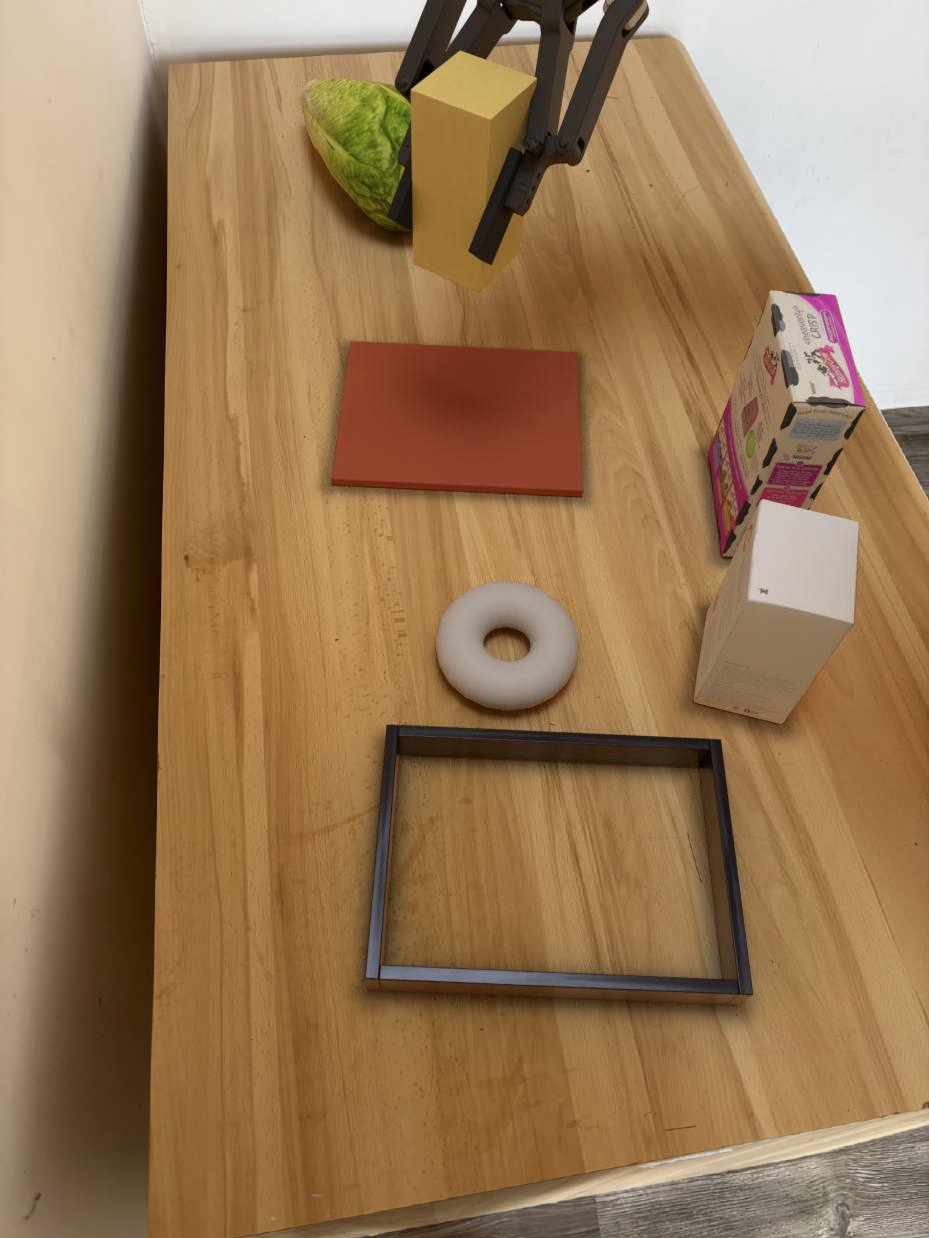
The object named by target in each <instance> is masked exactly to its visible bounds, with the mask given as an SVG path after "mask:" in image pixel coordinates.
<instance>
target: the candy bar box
mask: <svg viewBox="0 0 929 1238" xmlns="http://www.w3.org/2000/svg"><path fill="white" fill-rule="evenodd" d="M867 408H868V405H867V401H866V397H865V393H864V390H863V387H862V383H861V380H860V377H859V373H858V371H857V366H856V363H855V359H854V355H853V352H852V348H851V344H850V342H849V337H848V334H847V330H846V327H845V323H844V319H843V315H842V313H841V309H840V305H839V300H838V297H837V295H836V294H832V293H818V292H799V291H798V292H796V291H787V290H783V291H782V290H770V291H769V292H768V295H767V298H766V302H765V304H764V306H763V309H762V312H761V314H760V318H759V320H758V322H757V325H756V327H755V329H754V333H753V335H752V337H751V340H750V342H749V345H748V347H747V350H746V353H745V355H744V358H743V360H742V363H741V366H740V368H739V371H738V374H737V376H736V379H735V382H734V385H733V388H732V390H731V392H730V395H729V398H728V400H727V403H726V405H725V408H724V410H723V413H722V416H721V418H720V421H719V423H718V426H717V429H716V432H715V433H714V437H713V440H712V442H711V444H710V447H709V449H708V452H707V456H708V457H707V458H708V463H709V470H710V476H711V484H712V490H713V498H714V505H715V514H716V522H717V528H718V536H719V543H720V551H721V552H720V553H721V557H723V558H729V559H730V558H731V559H733V557H734V555H735V553H736V551H737V548H738V546H739V544H740V542H741V540H742V538H743V536H744V534H745V532H746V530H747V528H748V525H749V523H750V521H751V519H752V517H753V515H754V513H755V511H756V509H757V507H758V505H759V503H760V501H761V500H762V499H765V500H768V501H772V502H776V503H781V504H785V505H789V506H793V507H798V508H802V509H806V510H810V508H811V507H812V505H813V504H814V502H815V500H816V498H817V496H818V494H819V492H820V490H821V488H822V487H823V485H824V483H825V482H826V480H827V478H828V476H829V475H830V473H831V471H832V469H833V468H834V466H835V464H836V463H837V461H838V459H839V457H840V456H841V453H842V452H843V450H844V448H845V446H846V445H847V443H848V441H849V440H850V437H851V435H852V434H853V432H854V431H855V428H856V427H857V425H858V423H859V421H860V419H861V418H862V416H863V414H864V413H865V411H866V410H867Z"/></svg>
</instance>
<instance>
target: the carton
mask: <svg viewBox="0 0 929 1238" xmlns="http://www.w3.org/2000/svg"><path fill="white" fill-rule="evenodd" d="M536 85H537V78H535V76H532V75H530V74H527V73H525V72H522V71H518V70H516V69H514V68H510V67H507V66H505V65H501V64H499V63H497V62H493V61H491V60H487V59H486V60H485V59H482V58H479V57H477V56H474V55H471V54H468V53H466V52H463V51H459V52H458V53H456V54H455V55H454V56H452V57H451V58H450V59H449V60H447V61H446V62H445V63H444V64H442V65H441V66H440V67H439V68H437V69H436V70H435V71H434V72H432V73H431V74H430V75H428V76H427V77H426V78H425V79H423V80H422V81H421V82H420V83H418V84H417V85H416V86H415V87H413V88H412V89H411V142H412V213H413V232H412V264H413V265H415V266H416V267H419V268H421V269H424V270H425V271H428V272H430V273H432V274H434V275H437V276H439V277H442V278H443V279H446V280H449V281H451V282H453V283H456V284H457V285H460V286H463V287H465V288H467V289H470V290H472V291H474V292H476V293H478V294H481V293H483V291H484V290H485V289H486V288H487V287H488V286H489V285H490V284H491V283H492V282H493V281H494V280H495V278H497V276H498V275H499V274H500V273H501V272H502V271H503V270H504V269H506V267H507V266H508V265H509V264H510V263H511V262H512V261H513V260H514V259H515V258H516V257H517V256H518V255H519V253H521V248H522V240H523V239H522V238H523V228H524V227H523V226H524V220H525V219H524V217H525V215H524V216H523V217H522V216H520V215H517V214H515V213H513V215H512V218H511V220H510V223H509V225H508V227H507V230H506V232H505V235H504V237H503V240H502V242H501V244H500V247H499V249H498V252H497V254H496V257H495V259H494V261H493V264H492V265H490V264H487V263H485V262H482V261H481V260H479V259H478V258H477V257H475V256H474V255H472V254H471V253H470V252H468V250H469V247H470V245H471V242H472V240H473V237H474V235H475V232H476V230H477V227H478V225H479V222H480V220H481V218H482V215H483V213H484V210H485V208H486V206H487V204H488V201H489V199H490V196H491V194H492V191H493V189H494V186H495V184H496V181H497V179H498V176H499V174H500V172H501V169H502V167H503V164H504V162H505V159H506V157H507V154H508V152H509V149H510V147H512V148H514V149H517V150H519V151H521V152H522V153H523V154H524V151H525V149H524V148H523V146H522V144H521V139H523V140H524V141H525V137H526V130H527V124H528V117H529V110H530V104H531V98H532V95H533V93H534V90H535V88H536Z"/></svg>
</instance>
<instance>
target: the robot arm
mask: <svg viewBox="0 0 929 1238" xmlns="http://www.w3.org/2000/svg"><path fill="white" fill-rule="evenodd" d="M467 1H468V0H426V1H425V4H424V6H423V8H422V11H421V14H420V17H419V19H418V22H417V23H416V27H415V29H414V31H413V34H412V36H411V39H410V41H409V44H408V46H407V49H406V51H405V54H404V56H403V58H402V61H401V63H400V65H399V69H398V71H397V73H396V76H395V78H394V86H395V87H396V89H397V90H398V91H399V92H400V93H401V94H402V95H403V96H404V97H405V98H406V99H407V100H408V101H409V102H410V104H411V89H412V88H413V87H415V86H416V85H417V84H418V83H420V82H421V81H422V80H423V79H425V78H426V77H427V76H428V75H430V74H431V73H432V72H434V71H435V70H436V69H437V68H439V67H440V66H441V65H442V64H444V63H445V62H446V61H447V60H449V59H450V58H451V57H452V56H454V55H455V54H456V53H458V52H459V51H463V52H466V53H468V54H471V55H474V56H477V57H479V58H482V59H485V60H487V59H488V57H489V56H490V54H491V53H492V51H494V49H495V48H496V46H497V44H498V43H499V42H500V40H501V39H502V37H503V36H504V35H508V34H509V33H510V32H511V31H512V29H513V28H514V27H515V25H516V24H517V22H518V21H520V22H534V23H535V24H537V25H538V26H539V31H540V37H539V44H538V50H537V58H536V64H535V71H534V77H535V78H537V85H536V88H535V90H534V93H533V95H532V98H531V104H530V110H529V117H528V124H527V130H526V137H525V141H524V140H523V139H521V144H522V146H523V148H524V149H525V151H524V154H523V153H522V152H521V151H519V150H517V149H514V148H512V147H510V149H509V152H508V154H507V157H506V159H505V162H504V164H503V167H502V169H501V172H500V174H499V176H498V179H497V181H496V184H495V186H494V189H493V191H492V194H491V196H490V199H489V201H488V204H487V206H486V208H485V210H484V213H483V215H482V218H481V220H480V222H479V225H478V227H477V230H476V232H475V235H474V237H473V240H472V242H471V245H470V247H469V250H468V252H470V253H471V254H472V255H474V256H475V257H477V258H478V259H479V260H481V261H482V262H485V263H487V264H490V265H492V264H493V261H494V259H495V257H496V254H497V252H498V249H499V247H500V244H501V242H502V240H503V237H504V235H505V232H506V230H507V227H508V225H509V223H510V220H511V218H512V215H513V213H515V214H517V215H520V216H522V217H523V216H524V217H525V215H527V213H528V212H529V211H530V208H531V206H532V203H533V201H534V199H535V197H536V194H537V192H538V189H539V187H540V184H541V182H542V180H543V178H544V175H545V173H546V171H547V170H548V169H549V168H550V167H551V166H554V165H568V166H569V167H576V166H578V165H579V164H580V163H581V162H582V161H583V159H584V157H585V154H586V151H587V148H588V146H589V143H590V140H591V138H592V135H593V133H594V130H595V128H596V125H597V123H598V120H599V117H600V115H601V112H602V110H603V107H604V104H605V102H606V100H607V96H608V94H609V92H610V89H611V87H612V84H613V82H614V79H615V76H616V73H617V71H618V68H619V66H620V63H621V61H622V58H623V56H624V52H625V50H626V48H627V46H628V43H629V42H630V40H632V38H633V37H634V36H635V34H636V33H637V32H638V30H639V29H640V28H641V27H642V25H643V24H644V23H645V21H646V19H647V18H648V16H649V15H650V6H649V3H648V1H647V0H604V2H603V5H602V11H603V16H602V17H601V20H600V22H599V24H598V26H597V29H596V31H595V33H594V37H593V39H592V42H591V44H590V47H589V49H588V52H587V55H586V58H585V60H584V63H583V65H582V69H581V71H580V74H579V76H578V79H577V81H576V84H575V87H574V89H573V92H572V95H571V97H570V99H569V102H568V106H567V108H566V111H565V113H564V115H563V119H562V121H561V124H560V120H561V119H560V118H561V114H562V113H561V112H562V106H563V99H564V92H565V88H566V87H565V86H566V81H567V80H566V79H567V75H568V74H567V73H568V67H569V61H570V55H571V52H572V51H573V49H574V45H575V37H576V31H577V25H578V20H579V19H578V18H579V17H580V16H581V15H583V14H584V13H585V12H587V11H588V10H589V9H590V8H592V7H593V6H594V5H595V4H597V3H598V2H600V0H476V4H475V7H474V8H473V10H472V12H470V14H469V16H468V17H467V19H466V20H465V22H464V24H463V25H462V26H461V28H460V30H459V31H458V33H457V34H456V36H455V37H454V38H453V40H452V37H453V35H454V33H455V30H456V28H457V26H458V23H459V20H460V18H461V16H462V13H463V11H464V8H465V6H466V4H467V3H468V2H467ZM451 40H452V42H451ZM450 42H451V43H450ZM559 125H560V126H559ZM398 163H399V164H400V165H401V166H403V167H404V168H405V169H404V172H403V174H402V177H401V180H400V182H399V185H398V188H397V190H396V193H395V196H394V198H393V201H392V203H391V206H390V209H389V211H388V214H387V218H389V219H390V220H392V221H394V222H395V223H397V224H398V225H400V226H401V227H403V228H405V229H407V230H409V231H408V232H412V233H413V213H412V142H411V121H410V124H409V127H408V129H407V132H406V135H405V137H404V140H403V143H402V146H401V148H400V151H399V153H398Z"/></svg>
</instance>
